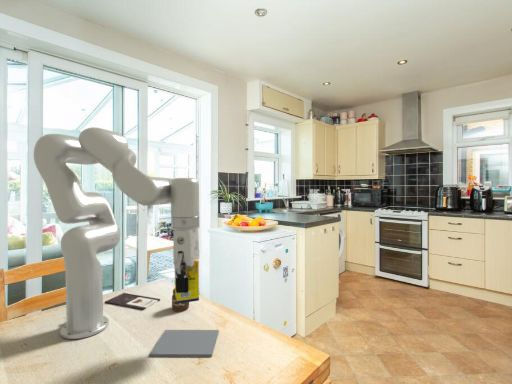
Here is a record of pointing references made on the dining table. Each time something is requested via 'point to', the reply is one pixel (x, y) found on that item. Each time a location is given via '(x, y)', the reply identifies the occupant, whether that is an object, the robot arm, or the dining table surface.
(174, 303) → the utensil holder
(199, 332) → the gray mat
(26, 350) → the dining table surface
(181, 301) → the supplement box
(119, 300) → the chocolate bar
